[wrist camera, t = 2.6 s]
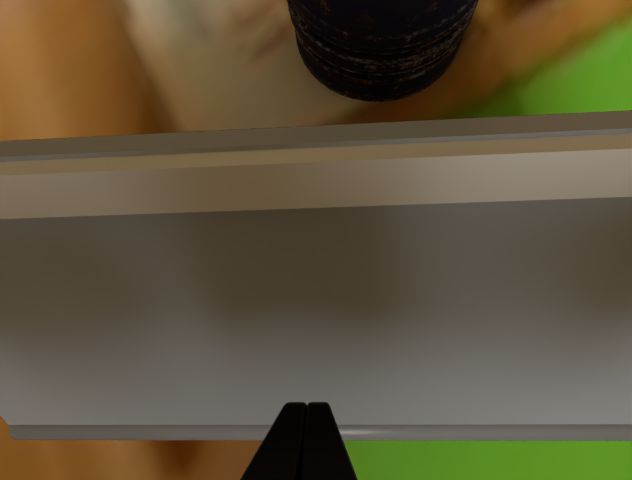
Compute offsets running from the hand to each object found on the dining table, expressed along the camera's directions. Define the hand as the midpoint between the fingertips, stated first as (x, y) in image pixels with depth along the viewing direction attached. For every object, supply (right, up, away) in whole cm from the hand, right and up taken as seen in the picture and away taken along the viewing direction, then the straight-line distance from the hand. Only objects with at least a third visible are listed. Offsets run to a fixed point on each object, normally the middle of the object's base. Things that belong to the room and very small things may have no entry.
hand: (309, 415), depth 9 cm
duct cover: (0, +1, +4) cm, 4 cm away
